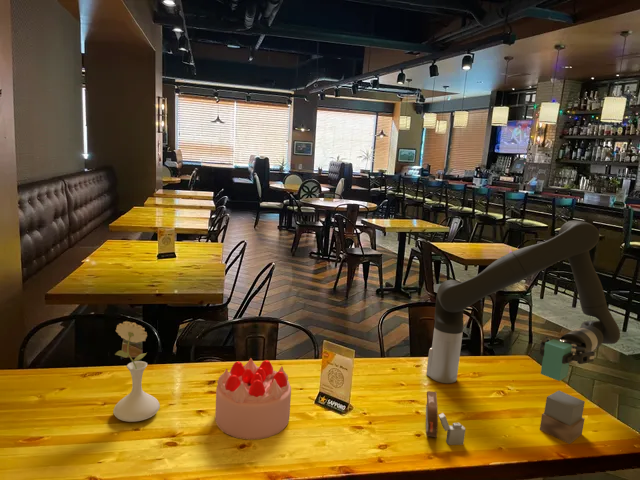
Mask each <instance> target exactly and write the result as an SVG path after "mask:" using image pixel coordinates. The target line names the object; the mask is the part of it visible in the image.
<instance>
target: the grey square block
mask: <svg viewBox="0 0 640 480" xmlns="http://www.w3.org/2000/svg"><path fill="white" fill-rule="evenodd" d="M585 403H586V402H585V400H582V399H579V397H576V396H572V395H570V394H568V393H566V392H563V391H561V390H557V391H555V392H554V393H551V394H550V395H548V396H547V397H546V401H545V406H544V411H543V413H544V414H546V415H548V416H550V417H552V418H555V419H557V420H559V421H561V422H563V423H565V424H567V425H569V426H571V425H572V424H574V423H575V422H577V421H578V420H580V419H581V418H583V414H584V413H583V412H584V408H585Z"/></svg>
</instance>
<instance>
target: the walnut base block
mask: <svg viewBox="0 0 640 480" xmlns="http://www.w3.org/2000/svg"><path fill="white" fill-rule="evenodd" d="M584 423H585V417H582V418H581V419H580V420H578V421H577V422H575V423H574V424H572V425H571V426H569V425H567V424H565V423H563V422H561V421H559V420H557V419H555V418H552V417H550V416H548V415H546V414H544V412H543V413H541V419H540V426H539V430H540V431H542V432H544V433H546V434H547V435H549V436H552V437H554V438H557V439H558V440H561V441H562V442H564V443H567V444H568V445H570V444H572V443H573V442H574V441H575V440H577V439H578V438H579V437H581V436H582V434H583V429H584Z"/></svg>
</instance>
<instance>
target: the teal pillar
mask: <svg viewBox="0 0 640 480" xmlns="http://www.w3.org/2000/svg"><path fill="white" fill-rule="evenodd" d="M558 340H559V339H555V338H554V339H550V341H548V342H546V343H545V347H544V356H542V362H541V368H540V369H541V370H540V374H541V375H542V376H545V377H547V378H549V379H550V378H551V379H553V380H556V381H559V382H561V381H562V380H564V379H565V378H566V377H568V374H569V367H570V363H566V364H563V363H562V358H563V356H564V355H565V354H567V353H571V349H572V345H570V344H567V343H564V342H561V341H558Z"/></svg>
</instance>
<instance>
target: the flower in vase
mask: <svg viewBox="0 0 640 480" xmlns="http://www.w3.org/2000/svg"><path fill="white" fill-rule="evenodd" d="M115 328H116V329H115V332H116V333H117V335H118V336H120V337H121V339H124V340H125V341H127V348H126V351H123V350H118V351H116V352H115V353H114V355H115V356H119V357H123V358H128V357H129V359H130V361H131V362H129V363H127V364H126V368H127V370H129V373H130V375H131V383H132V385H131V386H132V388H131V391H130V393H128V394H127V395H125V396H124V397H123V398H121V399H120V400H119V401H118V402H117V403H116V404H115V406H114V408H113V415H114V416H115V418H116V419H118V420H120V421H122V422H129V423H131V422H133V423H134V422H140V421H144V420H147V419H150V418H151V417H153V416H155V414H157V412H158V411H159V409H160V407H161V406H160V402H159V400H158V399H157V398H156V397H154V395H151V394H149V393H147V392H146V391H144V390H143V387H142V381H143V374H144V371H145V370H146V368H147V366H148V362H146V361H142V359H143V358H144V357H145V356H146V355H147V352H146V353H140V354H138V355H137V356H135V358H134V359H133V358H132V355H130V351H129V350H130V349H129V348H130V342H131V343H137V344H138V343H142V342H146V339H147V337H148V333H147V331H145V330H146V329H145V327H142V325H137V323H136V322H132V323H131V322H130V321H123V322H122V323H118V324H117V325H116V327H115Z"/></svg>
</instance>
